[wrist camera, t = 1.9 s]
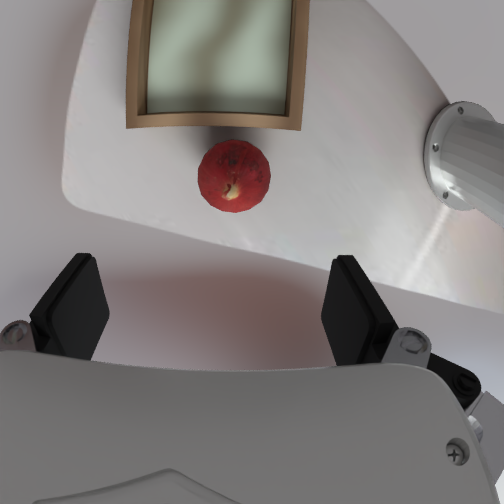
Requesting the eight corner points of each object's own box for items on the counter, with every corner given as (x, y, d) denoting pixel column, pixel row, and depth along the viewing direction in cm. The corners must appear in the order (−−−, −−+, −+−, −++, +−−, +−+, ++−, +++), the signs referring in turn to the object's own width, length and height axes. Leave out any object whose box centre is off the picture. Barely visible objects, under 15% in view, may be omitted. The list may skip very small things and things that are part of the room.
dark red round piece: (207, 131, 25) (192, 144, 18) (272, 139, 25) (282, 155, 18) (201, 192, 28) (186, 226, 21) (262, 199, 28) (267, 236, 21)
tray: (302, -11, 18) (310, -25, 15) (294, 127, 25) (300, 130, 22) (148, -11, 17) (136, -22, 14) (140, 124, 24) (126, 128, 21)
